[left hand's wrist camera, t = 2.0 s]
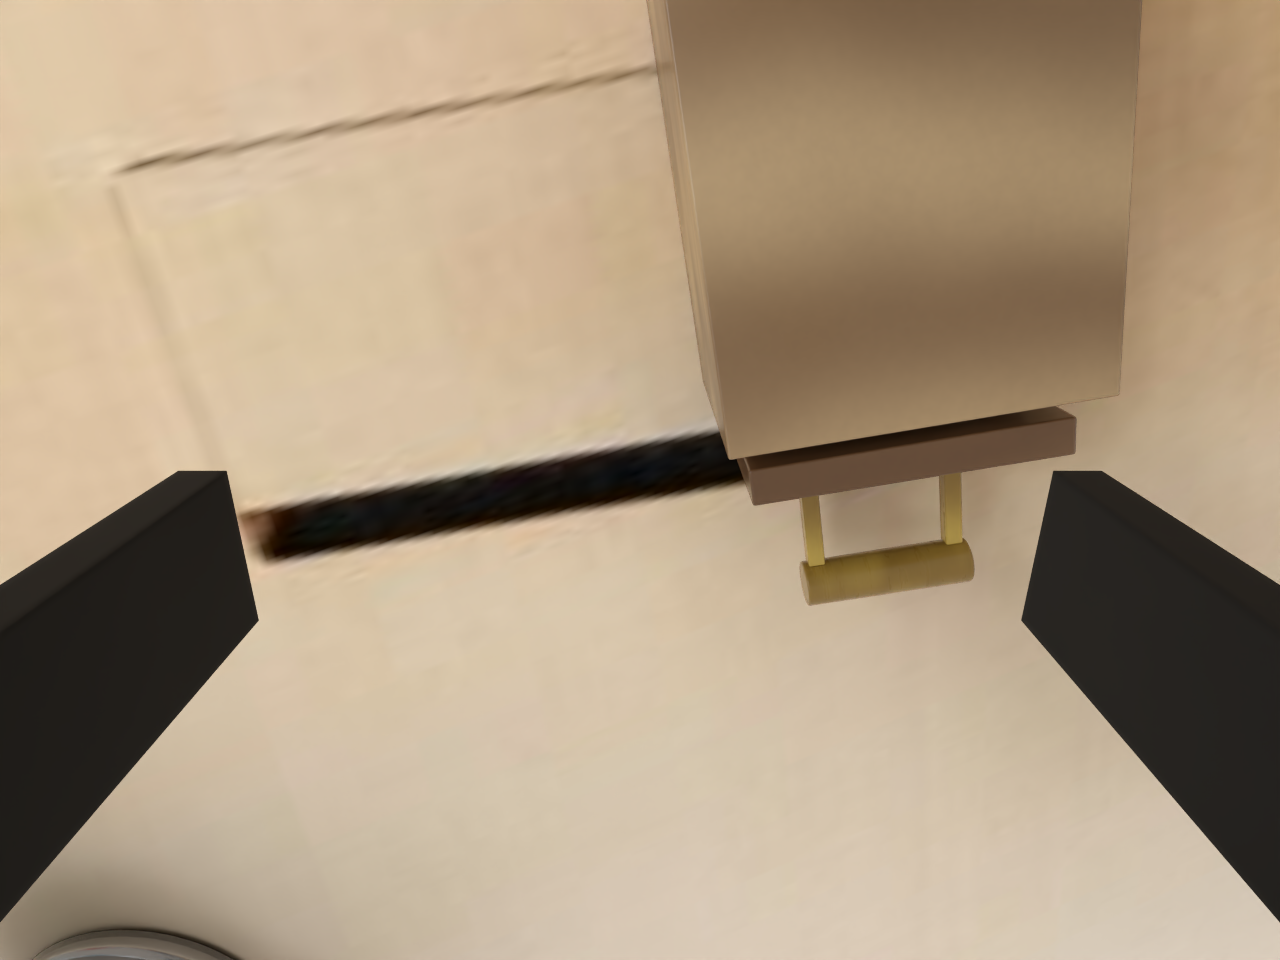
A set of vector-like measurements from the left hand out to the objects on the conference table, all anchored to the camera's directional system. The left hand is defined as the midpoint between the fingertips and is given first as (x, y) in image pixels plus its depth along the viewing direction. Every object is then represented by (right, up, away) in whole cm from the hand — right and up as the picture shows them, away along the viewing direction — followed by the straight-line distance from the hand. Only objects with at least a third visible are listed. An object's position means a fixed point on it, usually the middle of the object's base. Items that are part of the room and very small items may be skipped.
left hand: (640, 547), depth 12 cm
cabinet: (+6, +15, +13) cm, 21 cm away
